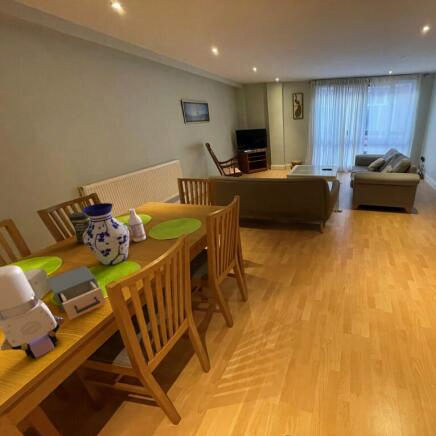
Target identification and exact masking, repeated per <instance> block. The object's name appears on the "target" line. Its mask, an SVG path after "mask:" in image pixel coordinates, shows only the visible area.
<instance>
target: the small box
mask: <svg viewBox="0 0 436 436" xmlns="http://www.w3.org/2000/svg"><path fill="white" fill-rule="evenodd" d="M23 273H24V275H25V276H26V278H27V280H28V282H29V284H30V286H31V288H32V290H33V292H34V294H35V296H36V298H37V299H38V300H42V299H43V298H44V297H45V296H46V295H47V294H49V293H50V291H52V289H51V287H50V285H49V283H48V281H47V279H48V278H50V277H49V276H48V274H47V271H46V269H45V268H35V269H29V270H27V271H26V272H23Z"/></svg>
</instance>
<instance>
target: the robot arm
mask: <svg viewBox="0 0 436 436" xmlns="http://www.w3.org/2000/svg"><path fill="white" fill-rule="evenodd" d="M24 273H25V272H24V271H23V269H22V268H21V267H20V266H19V265H5V266H1V267H0V328H1V330H2V332H3V335H4V336H5V338H4V339H3V342H2V343H1V346H0V350H1V351H10V350H13V351H22V352H24V353H25V355H26V356H27V357H30V356H31V359H34V358H36V357H35V356H34V354H33V352H32V351H31V349H30V346H29V341H31V340H33V339H35V338H37V337H39V336H41V335H43V334H45V333H48V336H49V338H50V340H51V342H52V344H53V346H54V348H56V347H57V346H58V345H57V343H58V342H59V340H58V337H57V336H56V334H57V332H58V330H59V329H60V327H61V326H62V325H63V324H64V323H65V321H66V319H65V318H64V317H62V316H58V315H57V316H56V315H54V314H52V312H51V310H50V309H49V307H48V305H46V304H45V303H44V302H43V300H42V299H40V300H38V299H37V298H36V296H35V294H34V292H33V290H32V288H31V286H30V284H29V282H28V280H27V278H26V276H25V275H24Z"/></svg>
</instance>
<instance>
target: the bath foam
mask: <svg viewBox="0 0 436 436" xmlns="http://www.w3.org/2000/svg"><path fill="white" fill-rule="evenodd" d="M128 213H129V217H128V219H127V225H128V229H129V232H130V235H131V237H132V241H133V242H136V243H137V242H142V241H144V240H147V236H146V232H145V228H144V225H143V221H142V219H141V217H140V216H138V215H137V213H136V210H135V208H129V209H128Z"/></svg>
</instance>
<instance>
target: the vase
mask: <svg viewBox="0 0 436 436" xmlns="http://www.w3.org/2000/svg"><path fill="white" fill-rule="evenodd" d="M113 207H114V204H113V203H111V202H102V203H94V204H91V205H86V206H85V207H83V208H81V212H85V213H86V214H87V215H88V216H89V218H90V224H89V226H88V228H87V229H86V231H85V232H84V234H83V241H84V243H83V244H84V245H85V246H86V248H87V249H88V250H89V251H90V252H91V253H92V254H93V256H95V258H97V259H98V260H99V261H100V262H101V263H102V265H103V266H114V265H118V264H121V263H123V262H125V261H126V260H127V259H128V255H129V246H130V235H131V232H130V228H129V226H128V225H126V224H125V223H123V222H121V221H119V220H118V219H116V218H115V217H114V216H113V215H112V210H113Z"/></svg>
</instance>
